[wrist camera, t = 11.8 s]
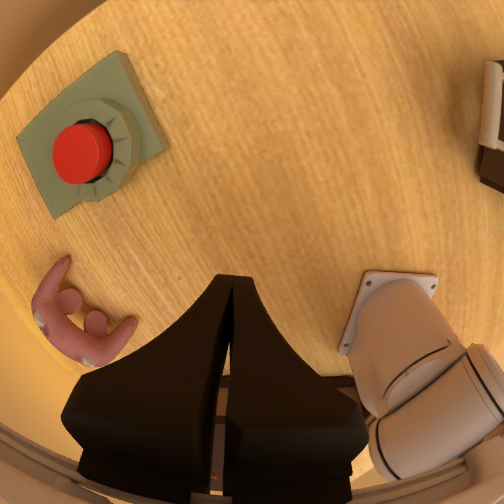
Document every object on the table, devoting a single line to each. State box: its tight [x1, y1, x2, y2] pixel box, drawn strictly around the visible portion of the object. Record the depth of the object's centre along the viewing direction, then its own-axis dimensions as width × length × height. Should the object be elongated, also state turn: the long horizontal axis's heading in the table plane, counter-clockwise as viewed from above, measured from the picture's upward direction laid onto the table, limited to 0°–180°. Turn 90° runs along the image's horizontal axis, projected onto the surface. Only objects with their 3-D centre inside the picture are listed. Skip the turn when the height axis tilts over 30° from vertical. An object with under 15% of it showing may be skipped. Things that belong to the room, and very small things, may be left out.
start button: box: [52, 123, 112, 185], centre depth 14 cm, size 4×4×2 cm
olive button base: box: [16, 51, 170, 220], centre depth 16 cm, size 11×9×4 cm
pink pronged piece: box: [31, 257, 137, 367], centre depth 22 cm, size 10×5×7 cm, turn 42°
